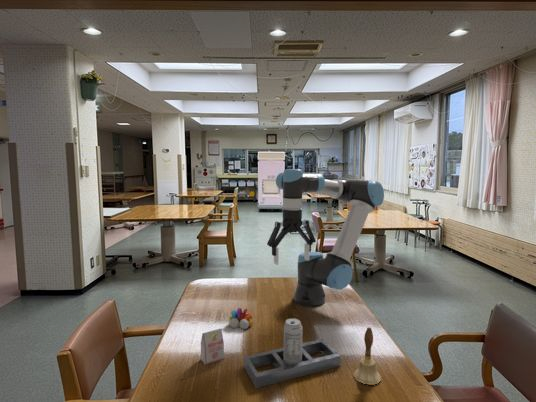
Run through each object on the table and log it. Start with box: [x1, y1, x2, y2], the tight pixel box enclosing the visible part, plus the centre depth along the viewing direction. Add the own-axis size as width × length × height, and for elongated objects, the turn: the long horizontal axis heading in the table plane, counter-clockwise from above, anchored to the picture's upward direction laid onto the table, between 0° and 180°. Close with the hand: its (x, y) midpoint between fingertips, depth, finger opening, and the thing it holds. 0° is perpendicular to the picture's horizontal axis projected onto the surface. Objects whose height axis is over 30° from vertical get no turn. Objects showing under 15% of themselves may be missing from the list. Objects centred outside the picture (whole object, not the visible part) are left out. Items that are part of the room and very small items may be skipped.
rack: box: [242, 338, 342, 389], centre depth 112 cm, size 30×12×4 cm, turn 113°
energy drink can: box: [283, 317, 303, 366], centre depth 111 cm, size 6×6×15 cm
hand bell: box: [353, 326, 382, 385], centre depth 106 cm, size 8×8×16 cm
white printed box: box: [200, 328, 225, 366], centre depth 115 cm, size 4×7×10 cm, turn 121°
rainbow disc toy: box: [229, 307, 254, 330], centre depth 140 cm, size 8×10×7 cm
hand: (291, 261), depth 136 cm, fingers open, 13 cm apart
